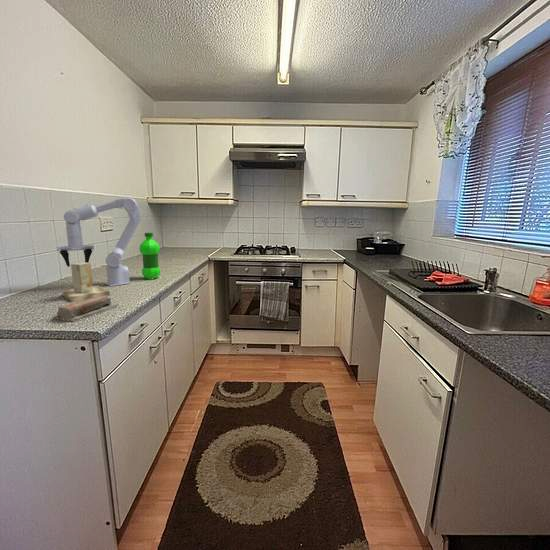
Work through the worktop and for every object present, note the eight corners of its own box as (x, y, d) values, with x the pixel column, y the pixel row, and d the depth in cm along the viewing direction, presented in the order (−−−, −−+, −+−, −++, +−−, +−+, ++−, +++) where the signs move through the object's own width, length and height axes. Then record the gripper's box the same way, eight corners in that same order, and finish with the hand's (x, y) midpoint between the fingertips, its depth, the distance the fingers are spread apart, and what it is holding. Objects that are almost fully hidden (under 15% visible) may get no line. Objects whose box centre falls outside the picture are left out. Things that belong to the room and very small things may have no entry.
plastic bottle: (149, 281, 157) (146, 233, 152) (137, 278, 162) (134, 232, 157) (165, 277, 165) (163, 233, 160) (153, 275, 170) (150, 232, 165)
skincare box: (82, 293, 124) (78, 264, 121) (73, 292, 124) (69, 264, 122) (94, 289, 130) (91, 262, 127) (85, 289, 131) (82, 261, 128)
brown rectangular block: (73, 309, 96) (51, 306, 99) (74, 323, 97) (53, 319, 100) (117, 295, 113) (97, 293, 116) (118, 307, 114) (99, 304, 117)
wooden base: (98, 289, 138) (98, 285, 137) (109, 295, 129) (109, 290, 128) (62, 295, 127) (62, 290, 127) (72, 301, 118) (71, 297, 118)
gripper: (89, 235, 146) (92, 262, 148) (53, 236, 135) (57, 266, 138) (94, 236, 141) (96, 264, 144) (57, 237, 130) (61, 268, 133)
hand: (77, 265), depth 140 cm, fingers open, 7 cm apart
